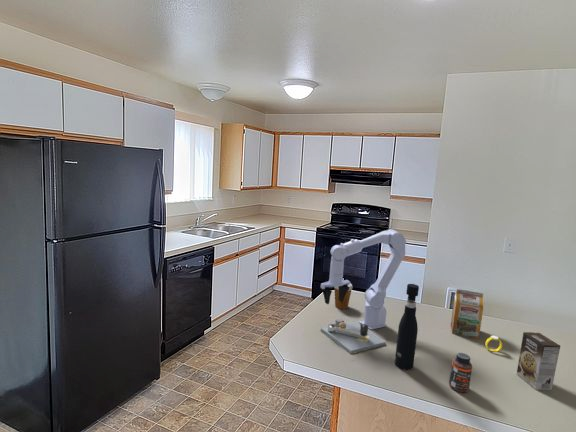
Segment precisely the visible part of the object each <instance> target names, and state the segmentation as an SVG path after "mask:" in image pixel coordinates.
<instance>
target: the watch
mask: <svg viewBox="0 0 576 432" xmlns="http://www.w3.org/2000/svg"><path fill="white" fill-rule="evenodd" d="M490 341H499V345H498V347H496V348H495V349H493V348H489V346H488V345H489V343H490ZM484 344H485V347H486V349H487V350H488V351H489V352H496V353H498V352H500V351H501V350H502V348H503V342H502V341H501V339H500V338H499V336H497V335H490V337H488V338H487V339H486V341H485V343H484Z"/></svg>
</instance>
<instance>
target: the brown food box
mask: <svg viewBox="0 0 576 432" xmlns="http://www.w3.org/2000/svg"><path fill="white" fill-rule="evenodd" d="M560 350H561V345H560V344H558V343H557V342H555V341H553V340H552V339H550V338H548V337H547V336H545V335H544V334H543V333H541V332H531V331H529V332H528V331H527V332H526V331H523V333H522V340H521V346H520V351H519V358H518V363H517V369H516V375H517V376H518V377H519V378H521V379H522V380H523V381H524V382H525V383H527V384H528V385H529V386H530V387H532V388H533V389H534V390H535V391H552V390H553V386H554V385H553V384H554V380H555V376H556V375H555V374H556V370H557V364H558V359H559V357H560V356H559V355H560V352H561V351H560Z"/></svg>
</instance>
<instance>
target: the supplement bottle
mask: <svg viewBox="0 0 576 432" xmlns="http://www.w3.org/2000/svg"><path fill="white" fill-rule="evenodd" d="M472 370H473V364H472V363H471V356H470V355H469V354H467V353H464V352H457V353H456V356H455V358H453V359H452V362H451V367H450V374H449V380H448V381H449V382H448V385H449V387H450V388H451V389H453V390H454V391H456V392H459V393H467V392H469V389H470V384H471V379H472Z"/></svg>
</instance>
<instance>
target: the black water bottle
mask: <svg viewBox="0 0 576 432" xmlns="http://www.w3.org/2000/svg"><path fill="white" fill-rule="evenodd" d="M419 287H420V286H419V285H417V284H416V283H408V284H407V286H406V292H405V294H406V295H407V300H406V303H405V305H404V312H403V315H402V316H401V319H400V321H399V324H398V330H397V340H396V347H395V356H394V366H395V367H396V368H398V369H400V370H403V371H411V370H413V369H414V363H415V355H416V346H417V340H418V339H417V338H418V331H419V329H418V322H417V321H418V320H417V317H416V313H417V307H416V306H417V303H416V297H418V296H419V292H420V290H419V289H420V288H419Z"/></svg>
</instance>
